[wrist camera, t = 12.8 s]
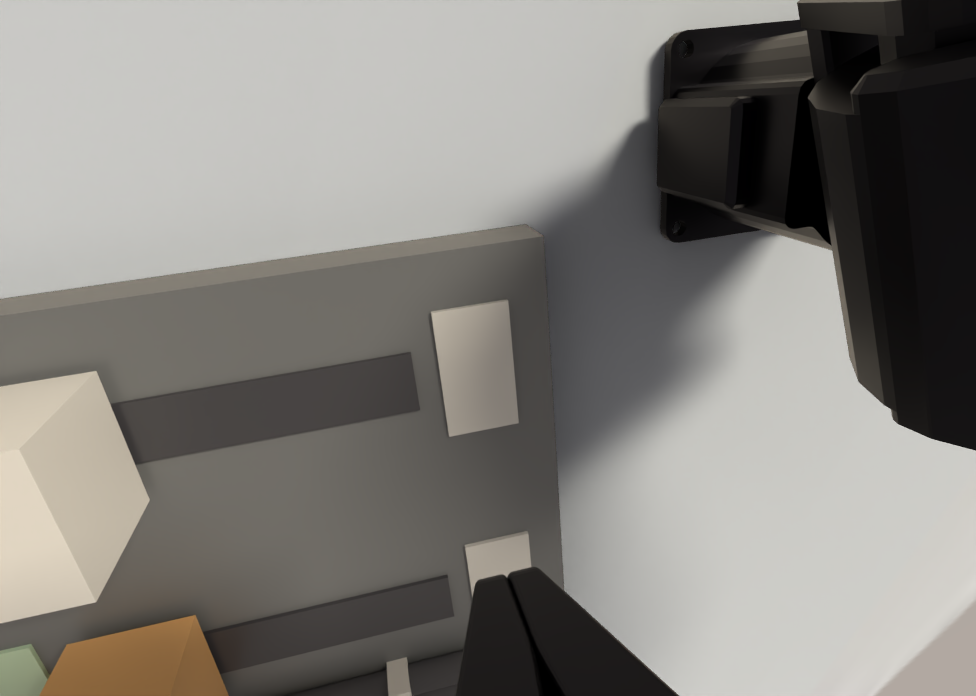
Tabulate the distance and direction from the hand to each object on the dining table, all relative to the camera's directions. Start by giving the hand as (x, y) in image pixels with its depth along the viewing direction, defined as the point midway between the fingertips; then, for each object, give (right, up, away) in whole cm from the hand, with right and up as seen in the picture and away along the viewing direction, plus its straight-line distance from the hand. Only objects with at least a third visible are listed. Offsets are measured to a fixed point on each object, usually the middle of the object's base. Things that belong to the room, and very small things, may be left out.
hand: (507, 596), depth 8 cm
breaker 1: (-13, 0, +9) cm, 15 cm away
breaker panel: (-9, -3, +13) cm, 16 cm away
